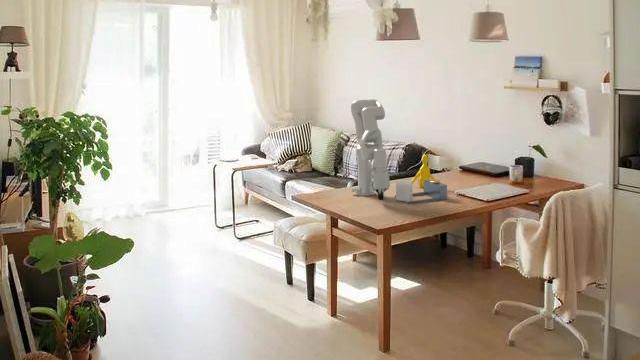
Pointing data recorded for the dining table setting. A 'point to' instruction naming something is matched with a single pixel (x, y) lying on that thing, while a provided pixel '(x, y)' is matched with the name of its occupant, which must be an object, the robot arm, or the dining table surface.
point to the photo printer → (404, 191)
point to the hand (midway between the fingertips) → (380, 199)
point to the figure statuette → (423, 172)
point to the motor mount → (431, 192)
